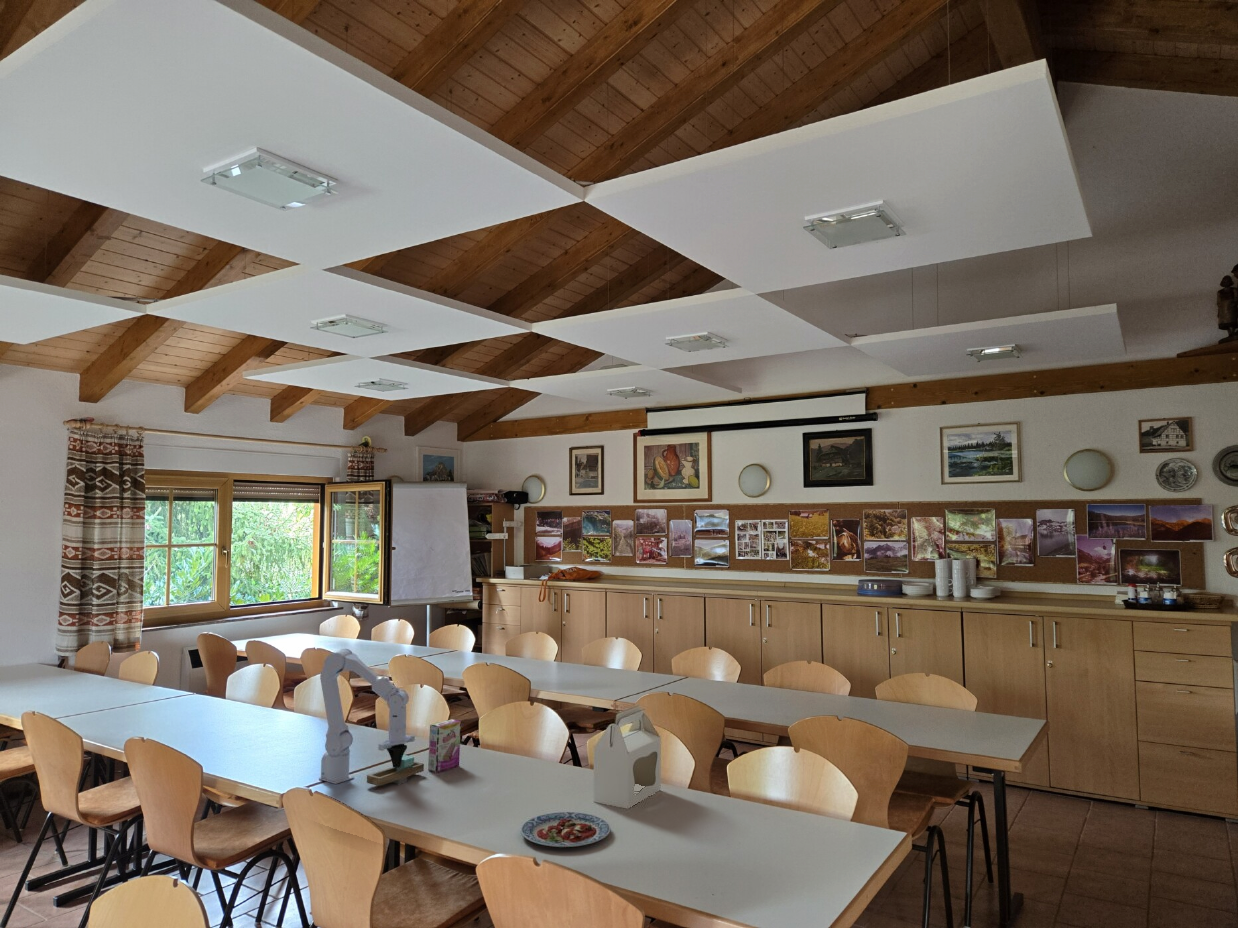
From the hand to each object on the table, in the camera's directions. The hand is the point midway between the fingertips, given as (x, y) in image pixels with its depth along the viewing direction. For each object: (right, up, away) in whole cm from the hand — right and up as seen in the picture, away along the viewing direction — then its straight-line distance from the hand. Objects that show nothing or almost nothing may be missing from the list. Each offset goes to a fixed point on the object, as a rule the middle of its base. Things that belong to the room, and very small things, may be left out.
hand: (396, 766), depth 278 cm
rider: (+2, -2, +3) cm, 4 cm away
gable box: (+80, -5, -13) cm, 81 cm away
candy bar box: (+13, -6, +15) cm, 21 cm away
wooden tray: (0, -5, 0) cm, 5 cm away
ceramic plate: (+62, -2, -47) cm, 77 cm away
